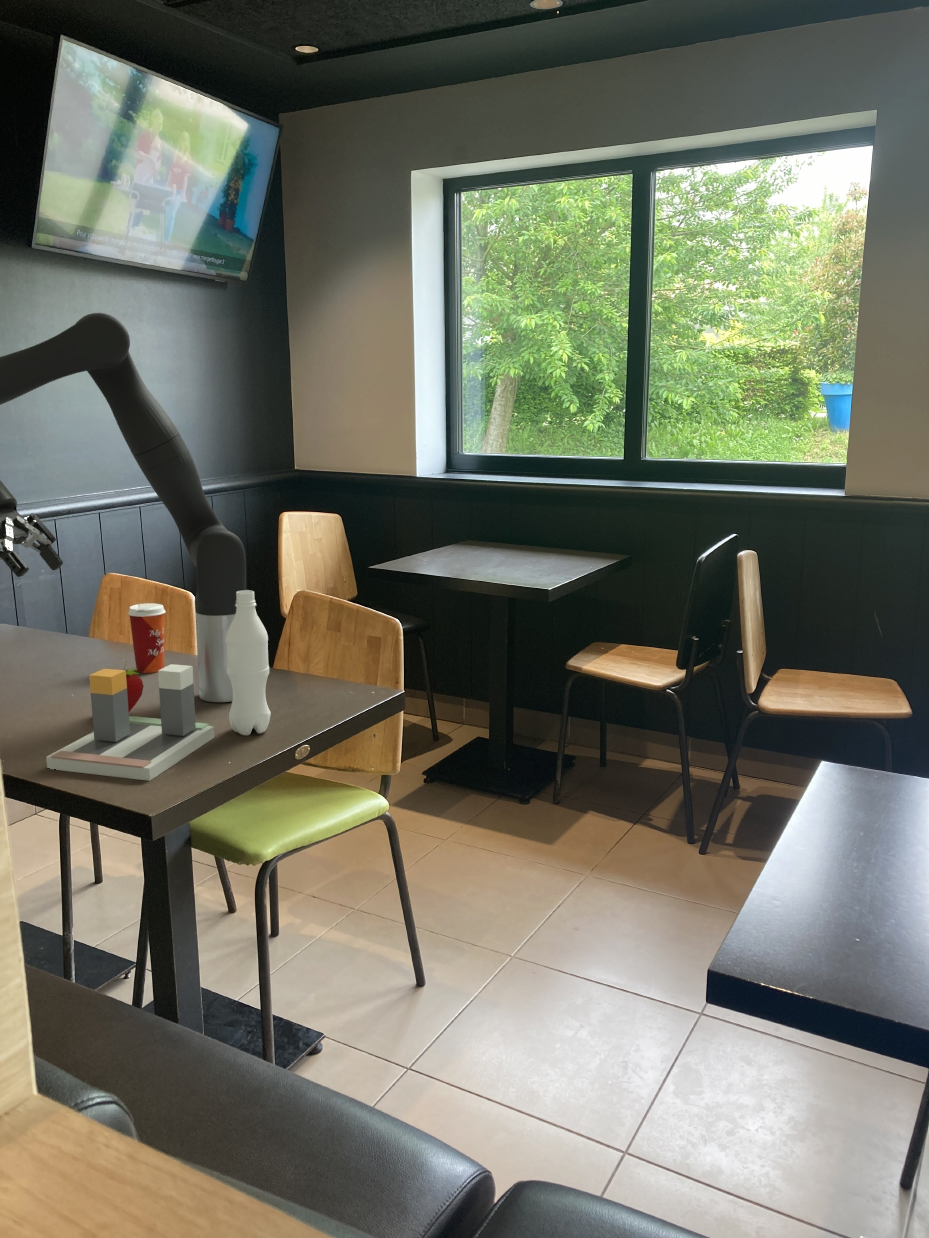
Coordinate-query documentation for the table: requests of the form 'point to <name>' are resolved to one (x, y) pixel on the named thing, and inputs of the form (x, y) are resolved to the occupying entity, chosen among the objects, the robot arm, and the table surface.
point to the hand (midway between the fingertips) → (41, 570)
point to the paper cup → (148, 636)
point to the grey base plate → (144, 736)
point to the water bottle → (247, 667)
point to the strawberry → (133, 688)
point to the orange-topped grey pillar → (109, 705)
